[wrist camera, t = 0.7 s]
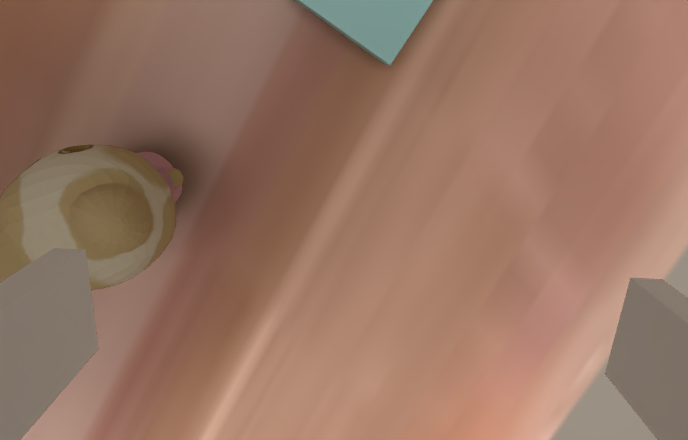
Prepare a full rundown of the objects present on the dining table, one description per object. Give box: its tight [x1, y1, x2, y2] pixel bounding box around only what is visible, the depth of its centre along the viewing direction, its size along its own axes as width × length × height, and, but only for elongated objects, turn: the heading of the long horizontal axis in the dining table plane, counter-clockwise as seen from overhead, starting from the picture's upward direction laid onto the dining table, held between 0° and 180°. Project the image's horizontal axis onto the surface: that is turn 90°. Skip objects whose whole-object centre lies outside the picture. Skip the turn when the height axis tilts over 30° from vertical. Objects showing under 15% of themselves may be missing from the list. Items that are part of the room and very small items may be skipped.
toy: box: [0, 145, 184, 290], centre depth 31 cm, size 10×8×15 cm
